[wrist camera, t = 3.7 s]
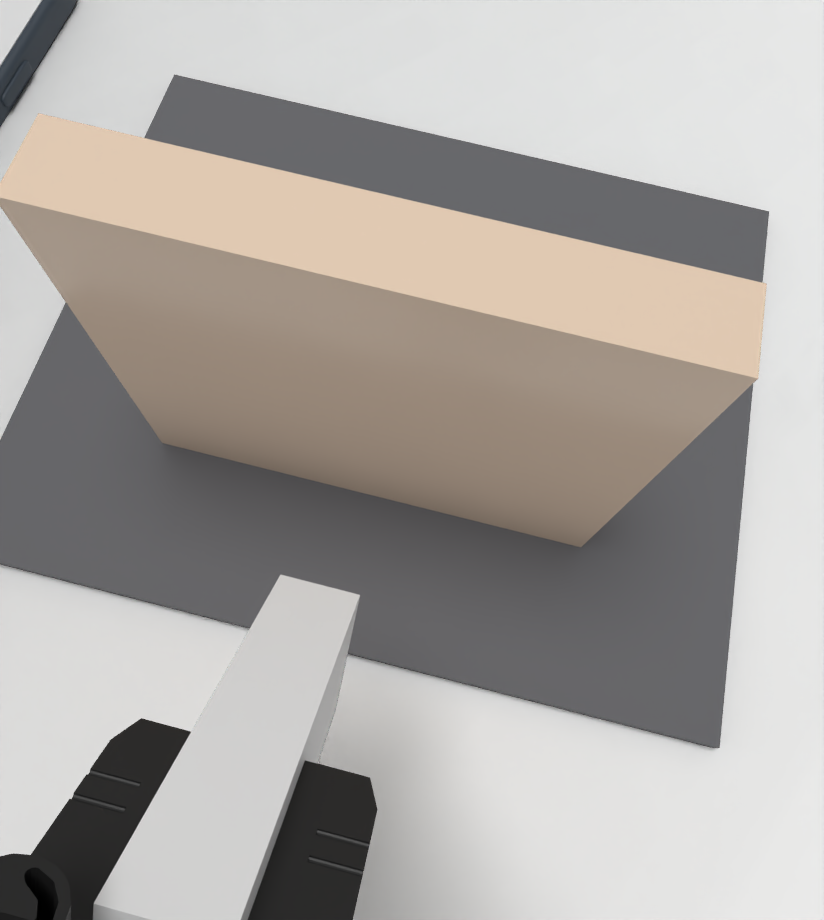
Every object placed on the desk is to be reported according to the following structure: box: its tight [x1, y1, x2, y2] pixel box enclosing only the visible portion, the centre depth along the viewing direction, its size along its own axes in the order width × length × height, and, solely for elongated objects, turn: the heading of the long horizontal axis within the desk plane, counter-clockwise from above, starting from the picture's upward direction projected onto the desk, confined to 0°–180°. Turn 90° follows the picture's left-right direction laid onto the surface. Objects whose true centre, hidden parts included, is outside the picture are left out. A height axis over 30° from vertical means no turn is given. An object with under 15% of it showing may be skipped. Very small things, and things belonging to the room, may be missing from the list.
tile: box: [0, 113, 767, 547], centre depth 20 cm, size 14×2×12 cm, turn 76°
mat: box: [0, 75, 769, 748], centre depth 27 cm, size 24×20×1 cm
